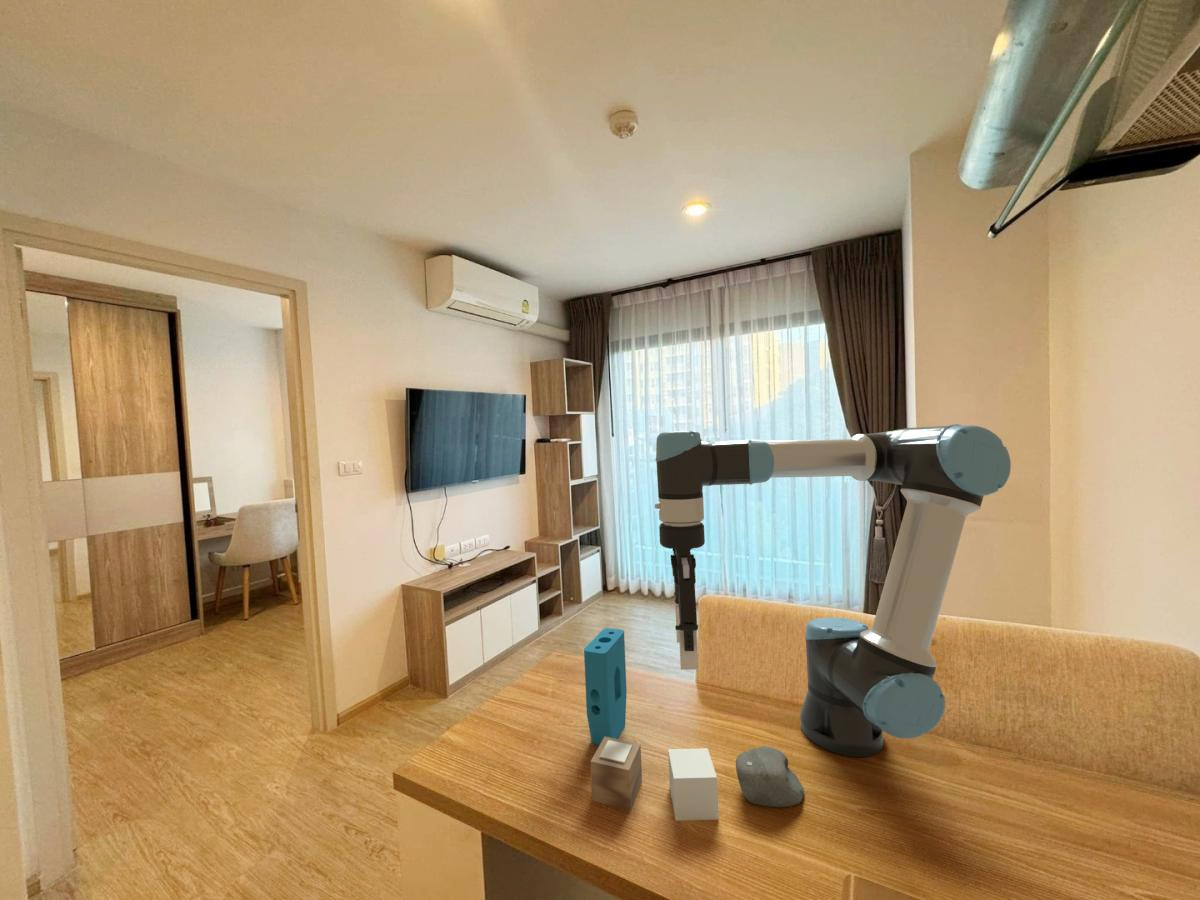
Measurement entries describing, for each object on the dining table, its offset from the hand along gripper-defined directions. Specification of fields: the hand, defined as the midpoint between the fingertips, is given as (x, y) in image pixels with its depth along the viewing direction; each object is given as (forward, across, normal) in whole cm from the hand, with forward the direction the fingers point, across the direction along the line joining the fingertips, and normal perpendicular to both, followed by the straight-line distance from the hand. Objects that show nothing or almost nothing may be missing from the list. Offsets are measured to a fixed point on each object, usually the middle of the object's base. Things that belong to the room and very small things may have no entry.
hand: (686, 654), depth 77 cm
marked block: (+26, -2, -13) cm, 29 cm away
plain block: (+26, 0, 0) cm, 26 cm away
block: (+26, -18, -16) cm, 35 cm away
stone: (+26, -3, +14) cm, 29 cm away
